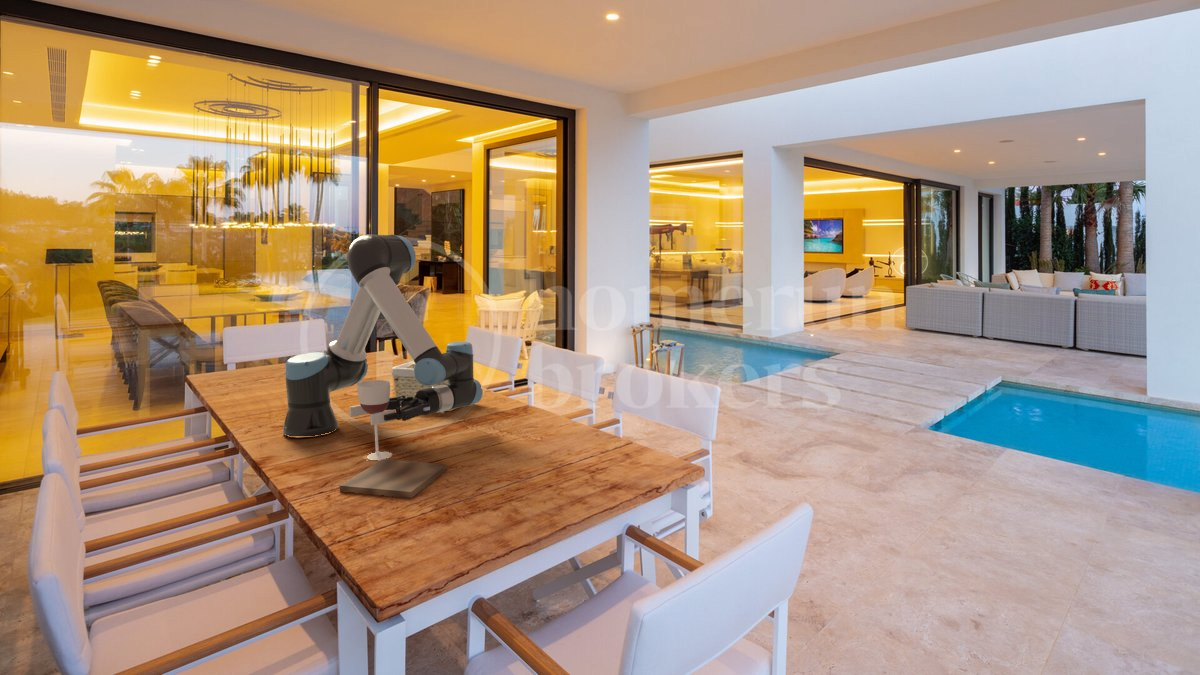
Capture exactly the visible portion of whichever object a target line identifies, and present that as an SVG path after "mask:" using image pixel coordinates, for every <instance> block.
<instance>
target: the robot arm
mask: <svg viewBox="0 0 1200 675" xmlns="http://www.w3.org/2000/svg"><path fill="white" fill-rule="evenodd" d="M346 257H347V259H346V260H347V265H348V268H349V271H350V273H351V275H352V277H353V279H354V280H355V282H356V283H357V285H358V286H359V287H358V290H357V292H356V293H355V296H354V299H353V301H352V303H351V306H350V308H349V311H348V313H347V315H346V318H345V320H344V322H343V325H342V328H341V329H340V331H339V335H338V337H337V339H335V340H332V341H331V342H330V343H329V345H328V347H327V350H326V352H320V351H317V352H315V351H314V352H313V351H311V352H307V353H299V354H296V355H295V356H291V357H290V358H289V359H287V360H286V362H285V366H284V367H285V370H284V371H285V372H284V376H285V384H286V385H285V387H286V397H287V398H286V399H287V412H286V416H285V419H284V423H283V427H282V429H283V430H282V431H283V432H282V433H283V435H284V434H286V435H289V436H315V435H321V434H325V433H329V432H332V431H334V430H335V429H337V428H338V429H339V422H338V419H337V418H336V415H335V412H334V410H333V407H332V406H331V394H330V393H331V392H334V391H335V392H336V391H337V390H341V389H344V388H349V387H352V386H355V385H357V384H358V383H360V382H362V381H363V380H364V379H365V377H366V376H367V373H368V371H369V370H368V369H369V364H367V362H368V358H367V355H368V354H367V352H366V351H365V348H366V346H367V344H368V341H369V340H370V337H371V335H372V332H373V331H374V327H375V326H376V323H377V321H378V319H379V317H380V314H382V315H383V317H384V319H385V321H386V322H387V323H388V325H389V327H390V328H391V329H392V331H393V332H394V333H395V335H396V337H397V338H398V340H399V341H400V343H401V344H402V345H403V347H404V349H405V350H406V352H407V353H408V355H409V356H410V357H411V358H410V359H412V361H414V362H415V364H416V365H415V368H414V373H415V378H416V379H417V381H418V382H419V383H421V384H423V385H426V386H429V385H434V384H438V383H441V382H443V381H445V380H447V379H448V384H447V385H440V386H435V387H432V388H426V389H421V390H419V391H418V392H417V393H416V396H415V397H414V398H413V397H412V396H411V397H407V398H405V396H400V397H396V396H395V397H390V398H389V404H388V407H387V408H386V410H385V411H383V412H379V413H375V414H369V413H367V412H365V411H364V410H363V409H362V407H361V405H360V404H358V405H352V406H349V407H348V408H349V409H348V410H349V417H350V418H353V417H355V418H356V417H359V416H363V415H369V418H370V419H369V420H370V422H369V423H370V426H374V425H376V424H377V425H379V424H383V423H388V422H391V421H392V422H393V421H400V420H401V421H403V422H406V421H408V420H410V419H414V418H417V417H420V416H429V415H434V414H436V413H441V414H444V413H445V412H447V411H446V410H451V409H454V410H456V409H458V408H463V407H469V406H472V405H475V404H477V403H479V402H480V401H481V400H482V398H483V394H484V393H483V390H484V389H483V388H482V384H481V383H480V382H479V380H477V379H475V378H474V353H473V352H474V350H473V345H472V344H471V343H470V342H468V341H453V342H452V341H451V342H448V343H447V345H446V350H445V352H443V353H442V351H441V350H440V349H439V347H438V346H437V344H436V343H435V341H434V340H433V338H432V337H431V335H430V333H429V332H428V331H427V329H426V328H425V326H424V325H423V323H422V321H421V320H420V318H419V317H418V316H417V314H416V313H415V310H413V308H412V307H411V305H410V303H409V302H408V300H407V299H406V297H405V295H403V293H402V291H401V290H400V288H399V287H398V285H399V284H400V281H401V279H402V278H403V274H407V273H409V272H411V271H412V270H413V268H414V266H415V265H416V260H417V255H416V251H415V248H414V246H413V244H412V243H411V242H410V240H408V239H407V238H405V237H404V236H401V235H396V234H363V235H361V236H358V237H357V238H355V239H354V240H353V241H352V242H351V243H350V246H349V247H348V251H347V255H346ZM400 406H401V407H400ZM455 408H456V409H455ZM338 429H337V430H338Z"/></svg>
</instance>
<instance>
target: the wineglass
mask: <svg viewBox="0 0 1200 675" xmlns="http://www.w3.org/2000/svg"><path fill="white" fill-rule="evenodd" d="M356 388H357V397H358V401H359V405H361V407H362V409H363V410H364V411H365V412H367V413H369V414H368V415H370V414H375V413H379V412H384V411H387V410H386V408H387V407H388V404H389V398H391V397H390V395H391V383H390V381H388V380H383V379H373V380H364V381H363V380H362V381H360V382H358V383H356ZM373 426H374V427H373V428H374V443H375V444H374V446H375V451H374V452H375V453H372V452H370V453H371V454H369V453H368V454H369V455H368V456H367V458H368V459H370V460H378V461H380V460H382V459H383V460H387V459H389V458H391V457H392V456H393V453H392V452H390V453H389V451H384V452H380V450H379V433H378V432H379V430H378V424H376V425H373ZM386 458H387V459H386Z"/></svg>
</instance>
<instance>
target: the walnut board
mask: <svg viewBox="0 0 1200 675" xmlns="http://www.w3.org/2000/svg"><path fill="white" fill-rule="evenodd" d="M446 471H448V466H447V463H435V462H433V463H432V462H421V461H420V462H419V461H407V460H397V459H396V460H394V459H382V460H378V461H377V462H376V463H373V464H372V465H371V466H369V467H368V468H365V469H364V470H363V471H361V472H359V473H358V474H355V475H354V476H352V477H351V478H349V479H348V480H346V481H344V482H343V483H341V484H340V485H339V492H340V491H346V492H345V493H348V492H355V493H354V494H359V493H363V495H370V494H372V496H381V495H384V496H383V497H392V496H393V497H395V498H402V499H403V498H406V499H412V498H413V497H415V496H416V495H418V494H419V493H420V492H421V491H422V490H424V489H425V488H426V487H428V486H429V485H431V483H432V482H434V481H435V480H436V479H438V478H439V477H440V476H441V475H443V474H444V473H446Z"/></svg>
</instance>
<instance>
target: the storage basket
mask: <svg viewBox="0 0 1200 675" xmlns="http://www.w3.org/2000/svg"><path fill="white" fill-rule="evenodd" d="M415 365H416V364H415V362H414V361H413V360H411V361H409V362H405V363H402V364H399V365H396V366H392V369H391V375H392V377H393V386H394V393H395V394H394V395H395V397H400V396H405V398H407V397H411V396H412V397H413V398H414V397H415V396H416V393H417V392H418V391H419V390H421V389H426V388H432V387H435V386H440V385H447V384H448V379H447V380H445V381H443V382H441V383H438V384H434V385H429V386H426V385H423V384H421V383H419V382H418V381H417V379H416V378H415V373H414V368H415ZM456 409H457V408H455V409H451V410H446V411H445V412H452V411H454V410H456Z"/></svg>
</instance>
